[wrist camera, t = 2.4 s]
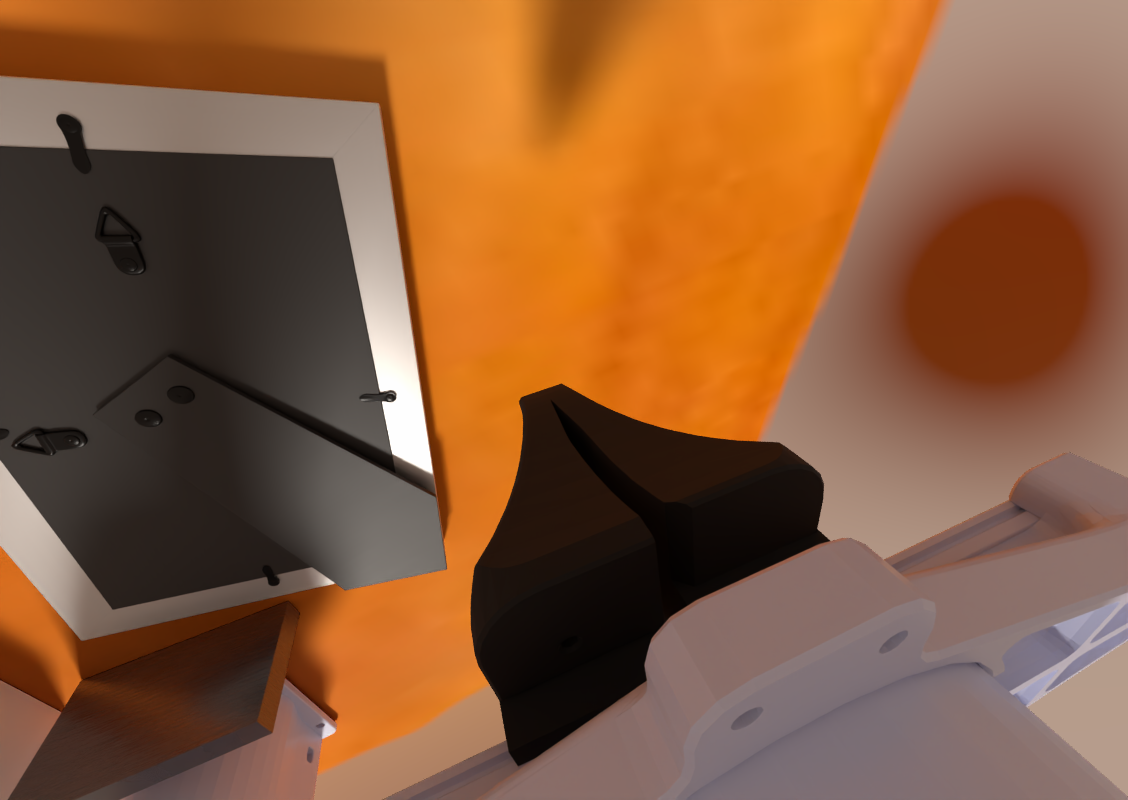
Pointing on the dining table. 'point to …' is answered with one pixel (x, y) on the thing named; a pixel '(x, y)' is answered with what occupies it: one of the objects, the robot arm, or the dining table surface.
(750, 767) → the robot arm
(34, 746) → the shelf wall
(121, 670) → the bookend
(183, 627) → the dining table surface
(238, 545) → the picture frame
